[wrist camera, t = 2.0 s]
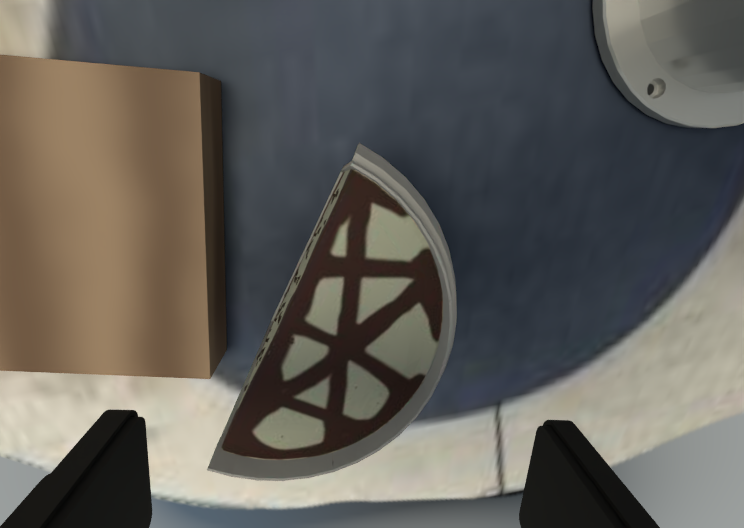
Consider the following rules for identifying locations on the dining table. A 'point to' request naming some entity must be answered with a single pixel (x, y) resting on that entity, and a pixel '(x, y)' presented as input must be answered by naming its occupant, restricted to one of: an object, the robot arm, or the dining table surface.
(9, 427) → the dining table surface
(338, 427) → the food container
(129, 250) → the walnut base
